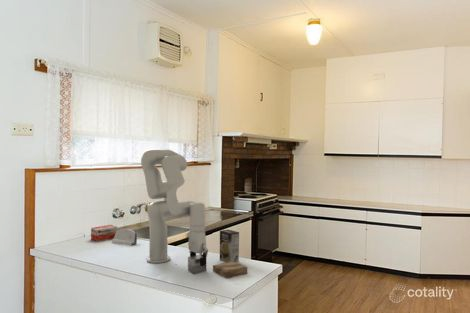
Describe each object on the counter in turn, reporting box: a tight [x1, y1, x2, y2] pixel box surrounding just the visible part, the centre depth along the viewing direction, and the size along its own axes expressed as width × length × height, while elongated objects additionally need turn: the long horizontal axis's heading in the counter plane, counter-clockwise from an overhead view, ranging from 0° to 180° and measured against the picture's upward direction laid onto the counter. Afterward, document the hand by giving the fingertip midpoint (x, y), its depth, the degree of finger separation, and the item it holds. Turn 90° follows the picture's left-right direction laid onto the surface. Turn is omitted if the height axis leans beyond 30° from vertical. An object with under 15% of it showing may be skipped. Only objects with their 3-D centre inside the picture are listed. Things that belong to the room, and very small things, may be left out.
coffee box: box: [219, 229, 240, 263], centre depth 189 cm, size 9×6×16 cm
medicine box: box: [90, 224, 118, 242], centre depth 239 cm, size 15×8×8 cm, turn 138°
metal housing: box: [187, 254, 207, 275], centre depth 173 cm, size 6×7×7 cm
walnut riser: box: [212, 261, 248, 279], centre depth 171 cm, size 12×12×3 cm
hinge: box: [111, 228, 139, 246], centre depth 228 cm, size 17×5×10 cm, turn 66°
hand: (198, 263), depth 173 cm, fingers open, 9 cm apart
